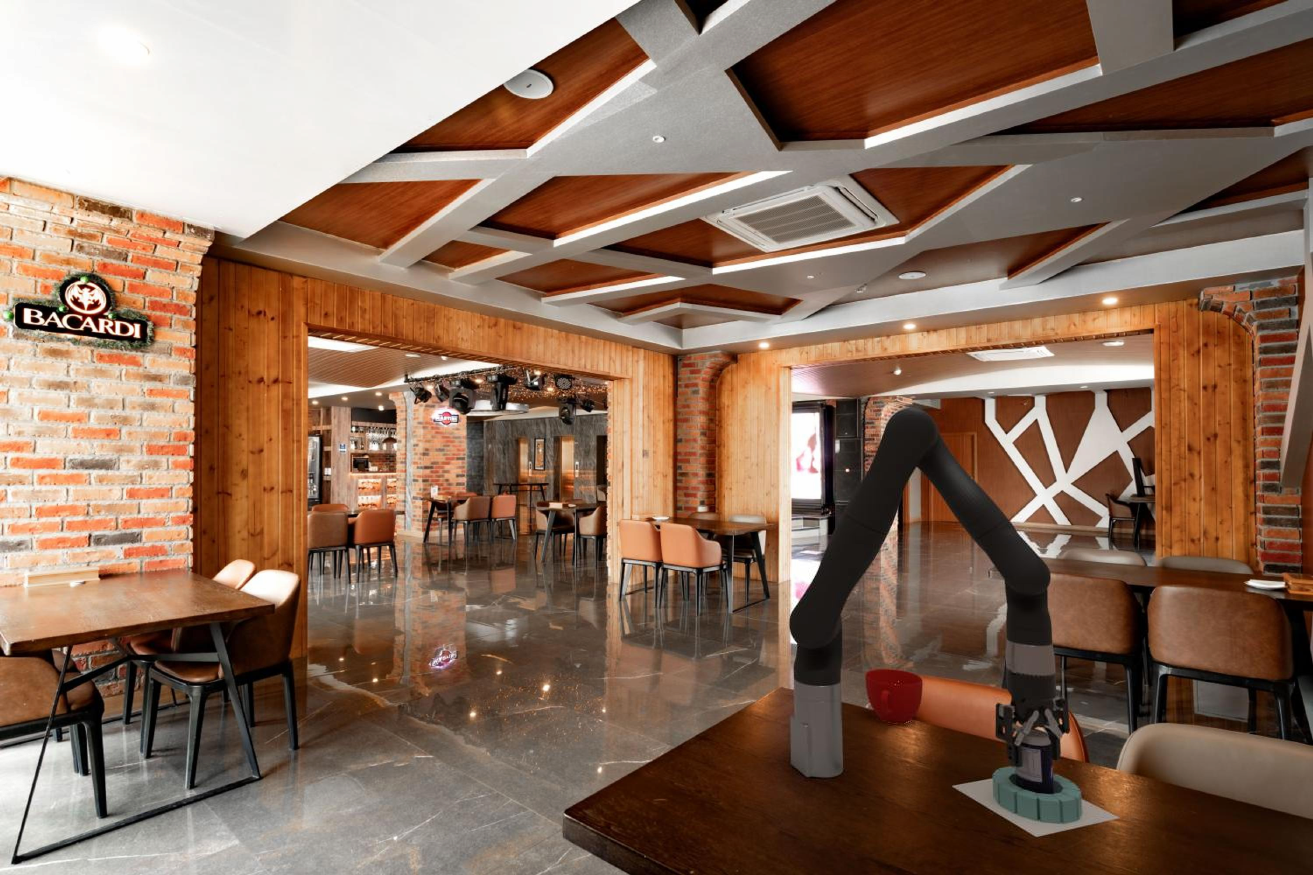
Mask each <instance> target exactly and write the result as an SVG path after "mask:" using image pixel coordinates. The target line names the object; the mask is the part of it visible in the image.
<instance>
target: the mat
mask: <svg viewBox="0 0 1313 875" xmlns="http://www.w3.org/2000/svg"><path fill="white" fill-rule="evenodd" d="M951 787H952V788H953V789H956V790H957V791H959V792H960V793H962V794H964V795H965V796H967V797H969V798H970V799H972V800H974V801H976V802H977V803H979V804H980V805H982V806H984V807H985V808H987V809H988V810H991V811H992V812H994V813H995V814H997V815H999V816H1001V817H1003V818H1004V819H1006V821H1009V822H1010V823H1012V824H1014V825H1016V826H1017V827H1019V828H1021V829H1022V830H1024V831H1026V832H1027V833H1028V834H1030V835H1032V836H1034V837H1036V838H1037V837H1039V838H1040V837H1042V836H1048V835H1051V834H1056V833H1060V832H1064V831H1070V830H1072V829H1073V830H1074V829H1078V828H1082V827H1087V826H1092V825H1096V824H1100V823H1105V822H1109V821H1112V820H1113V821H1114V820H1119V819H1120V816H1117V815H1114V814H1113V813H1111V812H1109V811H1107V810H1105V809H1103V808H1101V807H1098V806H1097V805H1095V804H1093V803H1091V802H1088V801H1087V800H1085V799H1082V798H1081V799H1082V815H1081V817H1080V819H1079V820H1077V821H1075V822H1070V823H1066V824H1063V823H1061V824H1055V823H1045V822H1041V821H1040V820H1039V819H1038V821H1034V820H1031V819H1028V818H1024V817H1021V816H1018V814H1017V813H1016V814H1013V813H1012V812H1010V811H1008V810H1007V809H1005V808H1003V807H1001V806H1000V804H998V803H997V801H996V800H995V798H994V797H993V777H992V778H987V779H983V780H978V781H977V780H976V781H971V782H965V783H961V784H956V785H952V786H951Z"/></svg>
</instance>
